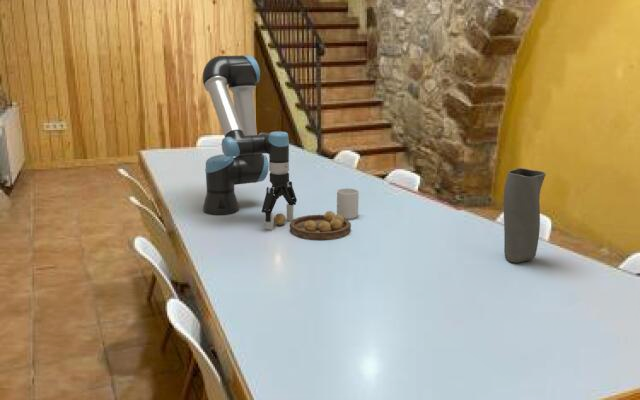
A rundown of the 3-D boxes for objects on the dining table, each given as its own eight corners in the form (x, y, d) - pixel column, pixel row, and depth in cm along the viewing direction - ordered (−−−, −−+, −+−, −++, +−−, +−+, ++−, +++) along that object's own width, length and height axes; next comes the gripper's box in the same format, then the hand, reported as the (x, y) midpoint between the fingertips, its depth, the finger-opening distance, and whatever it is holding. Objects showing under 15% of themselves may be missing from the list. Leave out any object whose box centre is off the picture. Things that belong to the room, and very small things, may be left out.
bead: (271, 225, 231) (271, 214, 230) (278, 222, 235) (278, 211, 233) (281, 227, 229) (281, 216, 227) (288, 224, 232) (287, 213, 231)
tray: (278, 233, 222) (278, 226, 221) (311, 218, 241) (311, 211, 240) (330, 244, 210) (330, 237, 209) (360, 227, 229) (360, 220, 228)
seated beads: (301, 232, 219) (301, 221, 217) (327, 220, 234) (327, 209, 233) (328, 238, 213) (328, 226, 211) (353, 225, 228) (353, 213, 227)
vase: (517, 268, 189) (527, 178, 181) (490, 256, 199) (498, 170, 191) (544, 262, 194) (555, 174, 186) (517, 250, 205) (525, 166, 197)
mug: (360, 219, 239) (361, 193, 236) (340, 220, 237) (340, 194, 234) (351, 211, 251) (352, 186, 248) (332, 212, 248) (332, 187, 245)
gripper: (267, 179, 214) (268, 234, 219) (305, 167, 234) (305, 218, 240) (251, 177, 217) (252, 231, 223) (289, 165, 238) (290, 215, 243)
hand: (280, 224), depth 231 cm, fingers open, 13 cm apart
